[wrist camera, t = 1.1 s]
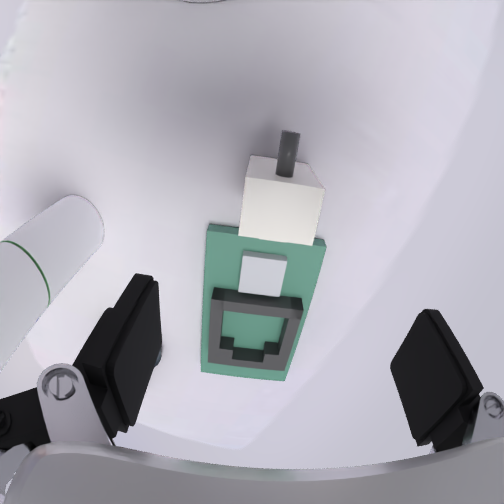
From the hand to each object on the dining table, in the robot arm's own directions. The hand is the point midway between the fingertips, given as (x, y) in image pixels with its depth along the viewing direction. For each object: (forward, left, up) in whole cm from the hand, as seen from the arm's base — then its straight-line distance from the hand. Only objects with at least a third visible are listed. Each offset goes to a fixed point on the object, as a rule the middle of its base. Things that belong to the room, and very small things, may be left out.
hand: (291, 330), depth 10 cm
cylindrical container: (+7, -20, -19) cm, 29 cm away
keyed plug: (0, 0, -19) cm, 19 cm away
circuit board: (+15, 0, -19) cm, 24 cm away
